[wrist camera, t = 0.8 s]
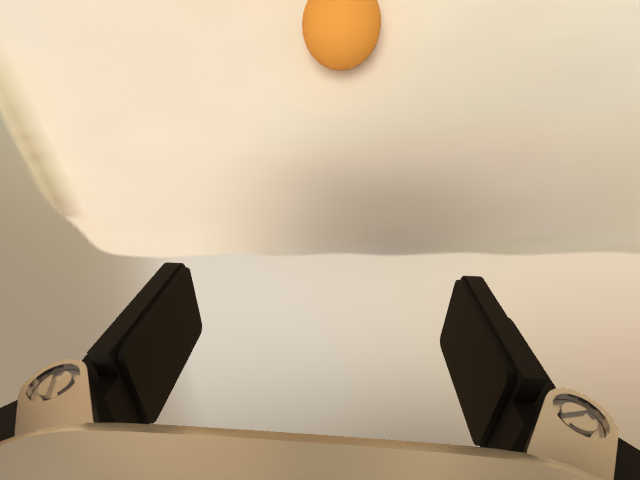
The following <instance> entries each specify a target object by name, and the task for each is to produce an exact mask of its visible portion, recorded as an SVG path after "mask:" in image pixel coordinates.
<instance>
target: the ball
mask: <svg viewBox="0 0 640 480" xmlns="http://www.w3.org/2000/svg"><path fill="white" fill-rule="evenodd" d="M380 27H381V15H380V9H379V5H378V2H377V0H308V1H307V4H306V6H305V10H304V13H303V21H302V28H303V36H304V40H305V43H306V45H307V48H308V50H309V51H310V53H311V54H312V56H313V57H314V58H315V59H316V60H317V61H318V62H319V63H320V64H322V65H323V66H325V67H327V68H330V69H334V70H346V69H350V68H353V67H355V66H357V65H359V64H360V63H362V62H363V61H364V60H365V59H366V58H367V57H368V56H369V55H370V54H371V52H372V51H373V49H374V47H375V45H376V43H377V40H378V37H379V33H380Z"/></svg>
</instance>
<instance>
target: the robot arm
mask: <svg viewBox="0 0 640 480" xmlns="http://www.w3.org/2000/svg"><path fill="white" fill-rule="evenodd" d="M201 331H202V322H201V318H200V313H199V309H198V304H197V299H196V296H195V291H194V286H193V282H192V277H191V273H190V269H189V268H187V267H185V265H184V264H183V263H164V264H163V265H162V267H161V268H160V269H159V270H158V271H157V272H156V274H155V275H154V276H153V277H152V278H151V279H150V280H149V282H148V283H147V284H146V285H145V286H144V287H143V289H142V290H141V291H140V292H139V293H138V294H137V295H136V297H135V298H134V299H133V300H132V301H131V302H130V303H129V305H128V306H127V307H126V308H125V309H124V310H123V312H122V313H121V314H120V315H119V316H118V317H117V318H116V320H115V321H114V322H113V323H112V324H111V326H110V327H109V328H108V329H107V330H106V331H105V332H104V334H103V335H102V336H101V337H100V338H99V339H98V340H97V342H96V343H95V344H94V345H93V346H92V347H91V348H90V350H89V351H88V352H87V353H88V354H87V355H86V356H85V358H84V359H83V360H82V361H80V360H76V359H68V360H62V361H59V362H55V363H53V364H50V365H48V366H46V367H44V368H42V369H41V370H39V371H38V372H36V373H35V374H33V376H31V377H30V378H29V379H28V380H27V381H26V382H25V383H24V385H23V386H22V388H21V389H20V392H19V395H18V400H16V401H14V402H12V403H10V404H8V405H6V406H3V407H1V408H0V480H640V450H638V449H636V448H635V447H633V446H632V445H630V444H628V443H627V442H625V441H623V440H622V439H620V438H618V428H617V426H616V424H615V422H614V420H613V418H612V417H611V416H610V415H609V414H608V412H607V411H606V410H605V409H604V408H603V407H601V406H600V405H599V404H598V403H597V402H595V401H594V400H592V399H591V398H589V397H587V396H586V395H584V394H581V393H579V392H577V391H574V390H570V389H565V388H560V389H559V388H556V387H555V386H554V384H553V383H552V381H551V380H550V378H549V376H548V375H547V373H546V372H545V370H544V369H543V367H542V366H541V364H540V362H539V361H538V359H537V358H536V356H535V355H534V353H533V352H532V350H531V349H530V347H529V346H528V344H527V342H526V341H525V339H524V338H523V336H522V335H521V333H520V332H519V330H518V329H517V327H516V325H515V324H514V322H513V321H512V320H511V319H510V318H508V317H507V315H506V314H505V312H504V310H503V309H502V307H501V306H500V304H499V303H498V301H497V300H496V298H495V296H494V295H493V293H492V292H491V290H490V289H489V287H488V285H487V284H486V282H485V281H484V279H483V278H482V277H478V276H463V277H462V278H461V280H456V282H455V285H454V288H453V292H452V297H451V299H450V303H449V307H448V311H447V314H446V318H445V322H444V325H443V329H442V333H441V337H440V346H441V349H442V352H443V355H444V358H445V361H446V364H447V367H448V370H449V373H450V376H451V379H452V382H453V385H454V387H455V390H456V393H457V396H458V399H459V402H460V405H461V408H462V411H463V414H464V417H465V420H466V423H467V426H468V428H469V431H470V434H471V437H472V440H473V442H474V444H475V445H477V446H480V447H471V446H461V445H460V446H459V445H450V444H437V443H426V442H412V441H398V440H385V439H371V438H358V437H343V436H329V435H313V434H300V433H284V432H270V431H255V430H239V429H224V428H207V427H191V426H176V425H156V424H150V423H154V422H155V421H156V420H157V418H158V416H159V414H160V412H161V411H162V409H163V406H164V405H165V403H166V401H167V399H168V397H169V395H170V393H171V391H172V389H173V387H174V385H175V383H176V381H177V379H178V377H179V375H180V373H181V371H182V370H183V368H184V365H185V364H186V362H187V360H188V358H189V356H190V354H191V352H192V350H193V348H194V346H195V344H196V342H197V340H198V338H199V336H200V334H201Z"/></svg>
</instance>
